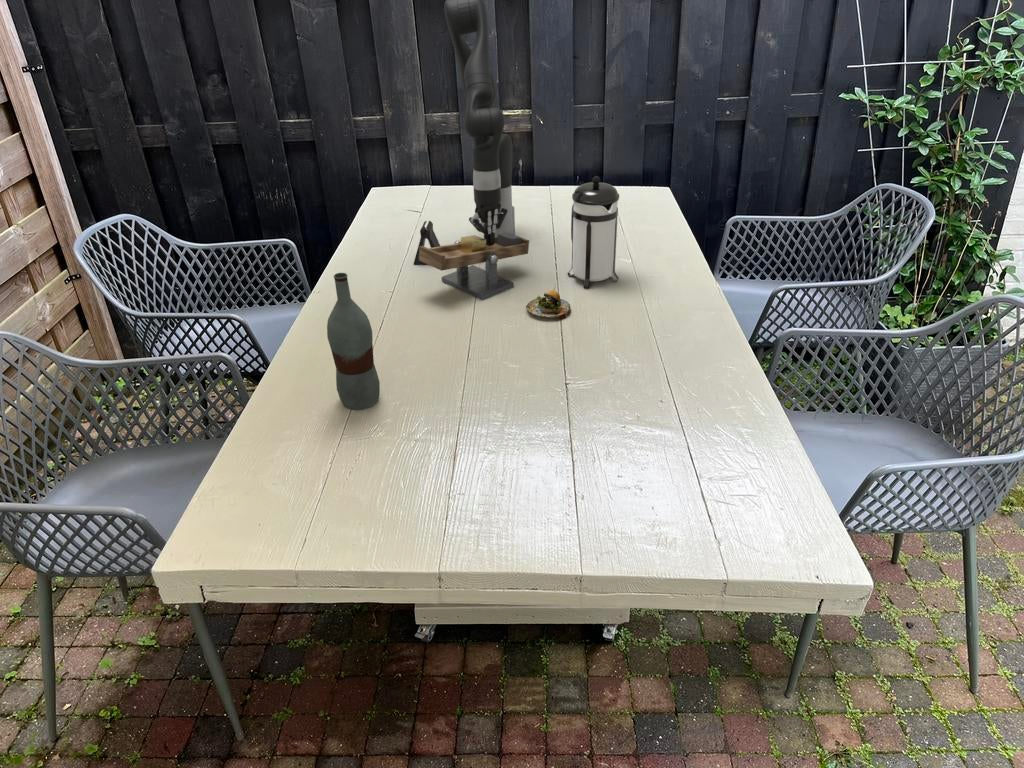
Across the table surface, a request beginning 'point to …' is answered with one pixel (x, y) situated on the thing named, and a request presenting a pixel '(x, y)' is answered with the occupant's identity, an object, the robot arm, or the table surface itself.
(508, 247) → the beam
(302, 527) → the table surface
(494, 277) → the pivot stand
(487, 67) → the robot arm
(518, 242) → the block
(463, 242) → the brass block
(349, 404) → the bottle
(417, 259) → the phone stand
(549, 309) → the burger
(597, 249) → the coffee press
